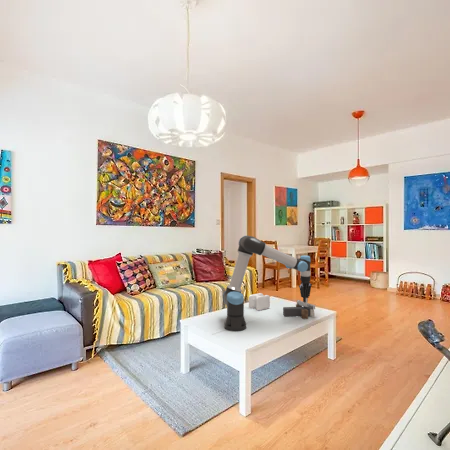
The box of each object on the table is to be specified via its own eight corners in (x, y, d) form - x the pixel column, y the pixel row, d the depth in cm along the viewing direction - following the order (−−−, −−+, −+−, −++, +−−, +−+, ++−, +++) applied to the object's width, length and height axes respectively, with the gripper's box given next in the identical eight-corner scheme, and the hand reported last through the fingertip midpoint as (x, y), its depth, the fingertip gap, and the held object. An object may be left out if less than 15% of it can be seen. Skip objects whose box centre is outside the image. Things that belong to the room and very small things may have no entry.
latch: (312, 309, 215) (312, 305, 215) (296, 304, 230) (296, 300, 230) (315, 309, 216) (315, 305, 216) (298, 303, 231) (298, 299, 231)
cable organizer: (256, 311, 232) (256, 297, 232) (248, 308, 241) (248, 294, 241) (270, 308, 240) (270, 294, 240) (261, 305, 249) (261, 292, 249)
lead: (284, 316, 219) (284, 309, 219) (283, 314, 224) (283, 307, 224) (314, 316, 220) (314, 308, 220) (311, 314, 225) (311, 306, 225)
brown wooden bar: (302, 318, 214) (302, 310, 214) (295, 311, 231) (295, 304, 231) (308, 318, 214) (307, 310, 214) (300, 311, 231) (300, 304, 231)
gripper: (306, 274, 227) (306, 303, 227) (296, 275, 220) (296, 306, 220) (314, 275, 221) (314, 305, 221) (303, 277, 214) (303, 308, 214)
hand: (305, 306), depth 220 cm, fingers closed
